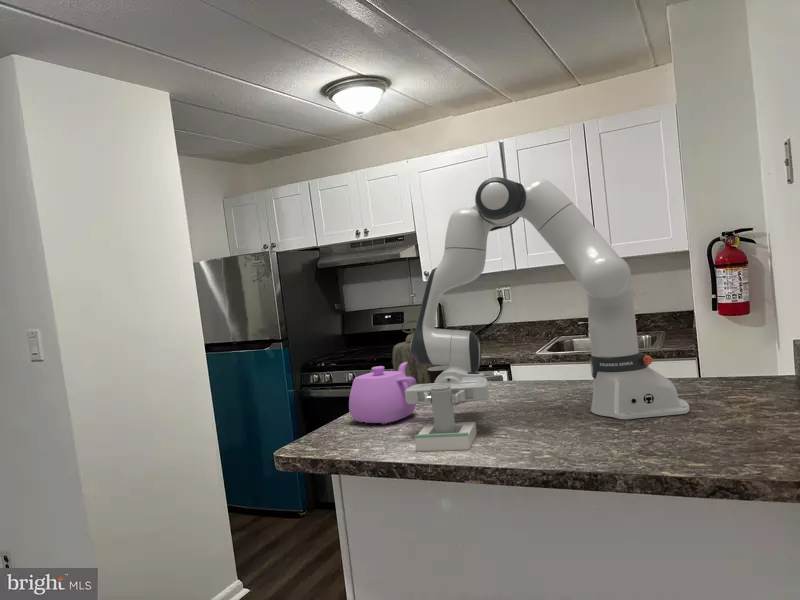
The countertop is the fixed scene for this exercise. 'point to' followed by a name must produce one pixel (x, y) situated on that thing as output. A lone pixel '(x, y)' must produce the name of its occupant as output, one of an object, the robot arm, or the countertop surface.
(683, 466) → the countertop surface
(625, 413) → the robot arm
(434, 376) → the coffee mug
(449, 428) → the beverage can
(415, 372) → the tabletop clock
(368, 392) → the teapot
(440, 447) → the socket block
